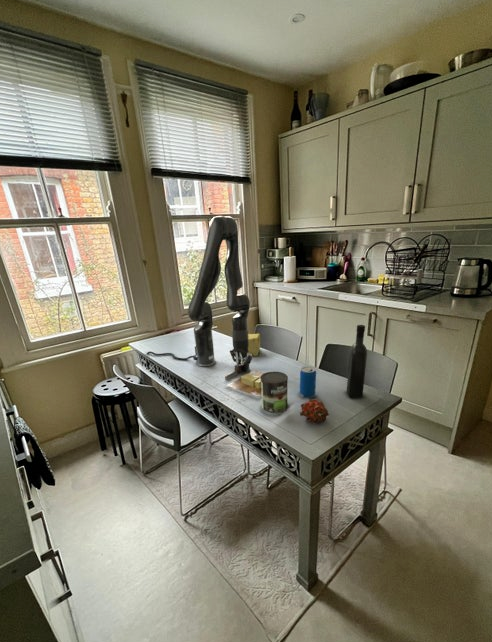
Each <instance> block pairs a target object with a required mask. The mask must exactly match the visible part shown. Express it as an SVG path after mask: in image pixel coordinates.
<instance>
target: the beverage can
mask: <svg viewBox="0 0 492 642" xmlns="http://www.w3.org/2000/svg"><path fill="white" fill-rule="evenodd" d="M316 386H317V371H316V368H315V367H313V366H302V367H301V369H300V372H299V393H300V394H301V395H302V398H305V399H311V398H313V397H315V395H316Z"/></svg>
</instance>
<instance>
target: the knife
mask: <svg viewBox="0 0 492 642" xmlns="http://www.w3.org/2000/svg"><path fill="white" fill-rule="evenodd" d="M244 362H245V361H244ZM248 370H250V364H248V365H247V371H248ZM243 373H244V372H243V368H242V361H241V363H239V364H237V363H236V364H235V365H234V371H232V372H230V373H228V374H226V375H224V380H225V381H226V380H229V379H230V378H232V377H234V376H237V375H240V374H243Z"/></svg>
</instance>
